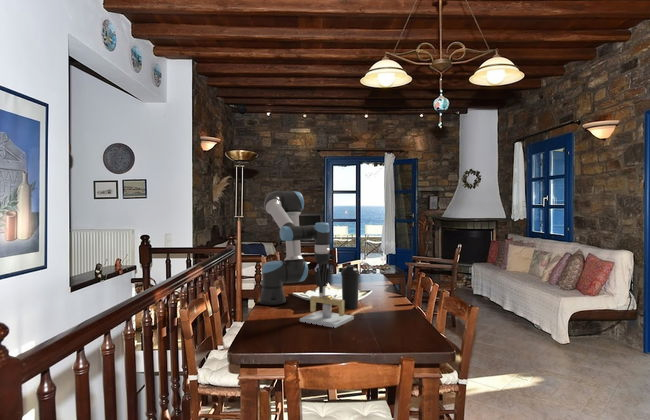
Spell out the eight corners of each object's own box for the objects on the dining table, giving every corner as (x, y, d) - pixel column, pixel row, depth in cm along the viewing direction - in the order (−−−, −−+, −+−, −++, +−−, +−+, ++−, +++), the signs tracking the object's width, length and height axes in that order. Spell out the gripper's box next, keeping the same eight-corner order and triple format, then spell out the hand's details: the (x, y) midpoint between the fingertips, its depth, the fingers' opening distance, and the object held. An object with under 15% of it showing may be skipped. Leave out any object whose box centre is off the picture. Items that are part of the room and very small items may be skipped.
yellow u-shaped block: (309, 311, 219) (309, 295, 219) (314, 309, 223) (314, 293, 223) (340, 317, 210) (340, 299, 210) (345, 314, 214) (345, 297, 214)
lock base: (299, 321, 214) (299, 305, 214) (319, 313, 230) (319, 298, 229) (335, 327, 204) (335, 310, 204) (353, 319, 219) (353, 302, 219)
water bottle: (359, 305, 247) (359, 264, 247) (359, 309, 237) (359, 267, 237) (341, 304, 248) (341, 264, 248) (340, 309, 238) (340, 266, 238)
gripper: (321, 254, 218) (321, 302, 218) (335, 252, 229) (335, 297, 229) (308, 253, 222) (309, 300, 222) (322, 251, 233) (322, 295, 233)
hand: (322, 298), depth 226 cm, fingers closed
